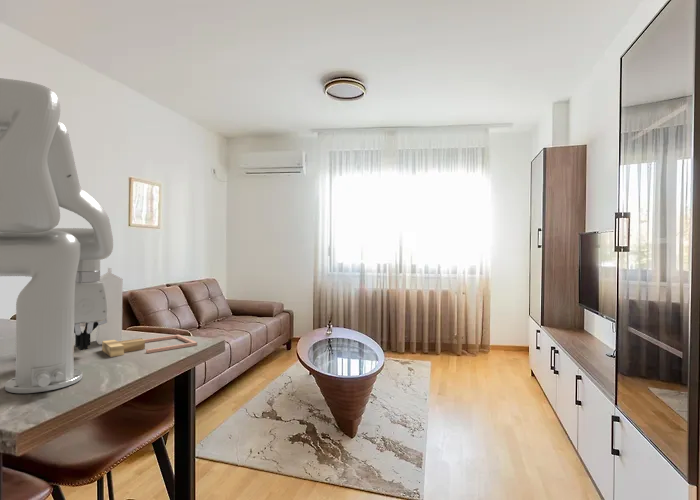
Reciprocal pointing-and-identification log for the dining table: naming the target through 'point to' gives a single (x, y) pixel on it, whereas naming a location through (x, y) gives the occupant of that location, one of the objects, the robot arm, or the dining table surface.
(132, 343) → the t block
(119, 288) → the milk
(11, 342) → the dining table surface
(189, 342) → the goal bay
